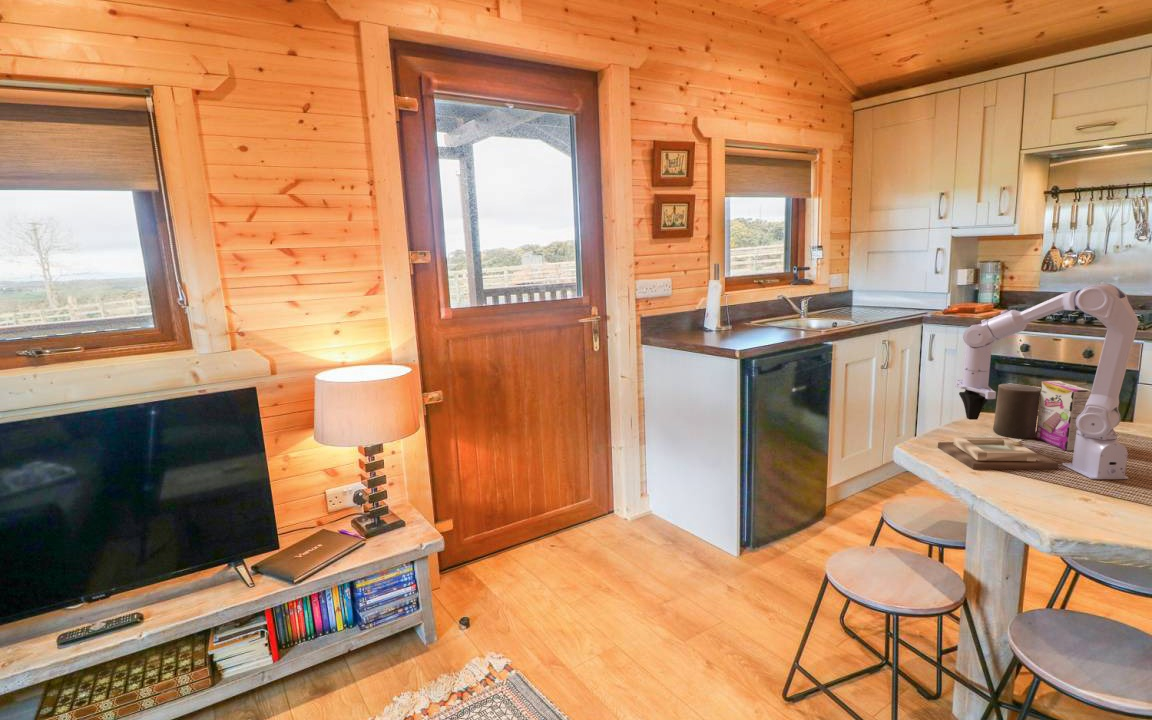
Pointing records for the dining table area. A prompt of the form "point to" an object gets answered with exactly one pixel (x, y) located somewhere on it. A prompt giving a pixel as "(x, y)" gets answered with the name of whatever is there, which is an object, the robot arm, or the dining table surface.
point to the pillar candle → (1016, 411)
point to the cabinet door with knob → (994, 449)
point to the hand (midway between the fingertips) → (972, 418)
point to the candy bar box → (1060, 413)
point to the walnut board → (971, 462)
